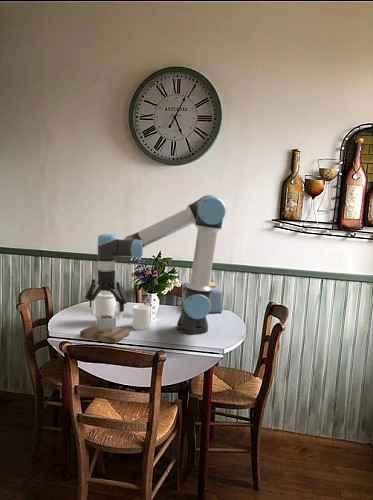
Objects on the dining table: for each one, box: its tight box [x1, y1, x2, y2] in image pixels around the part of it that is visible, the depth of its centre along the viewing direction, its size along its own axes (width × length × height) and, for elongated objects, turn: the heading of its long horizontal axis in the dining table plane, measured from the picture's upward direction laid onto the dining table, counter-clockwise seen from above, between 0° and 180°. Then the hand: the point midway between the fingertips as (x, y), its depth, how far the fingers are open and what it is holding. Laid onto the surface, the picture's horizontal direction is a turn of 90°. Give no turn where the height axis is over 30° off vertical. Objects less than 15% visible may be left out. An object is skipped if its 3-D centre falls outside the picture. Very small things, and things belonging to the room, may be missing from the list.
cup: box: [132, 304, 152, 331], centre depth 223 cm, size 8×12×10 cm
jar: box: [94, 290, 117, 324], centre depth 224 cm, size 11×10×15 cm
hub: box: [96, 315, 117, 333], centre depth 207 cm, size 8×8×6 cm
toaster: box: [208, 281, 224, 314], centre depth 257 cm, size 16×16×16 cm
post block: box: [79, 317, 130, 344], centre depth 206 cm, size 18×12×8 cm, turn 69°
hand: (106, 316), depth 206 cm, fingers open, 13 cm apart
